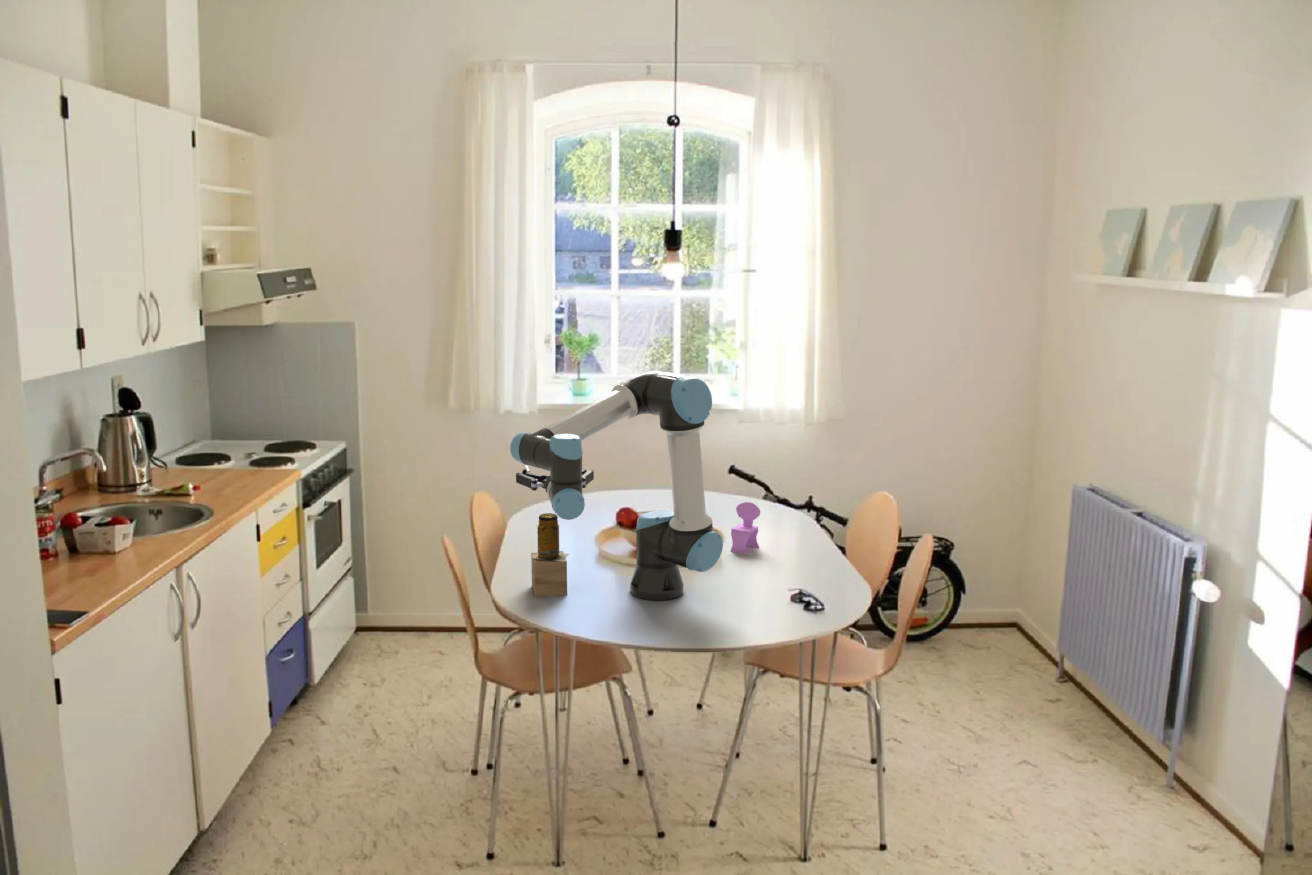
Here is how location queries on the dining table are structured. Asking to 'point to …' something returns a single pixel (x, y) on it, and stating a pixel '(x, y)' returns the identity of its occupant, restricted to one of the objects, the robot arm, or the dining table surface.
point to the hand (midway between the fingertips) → (551, 468)
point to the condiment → (549, 538)
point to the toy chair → (745, 528)
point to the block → (549, 577)
